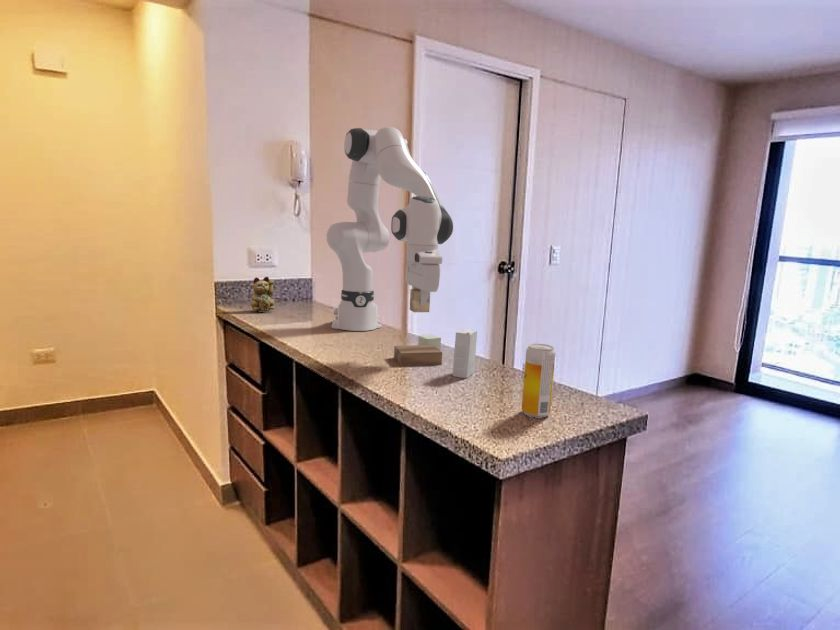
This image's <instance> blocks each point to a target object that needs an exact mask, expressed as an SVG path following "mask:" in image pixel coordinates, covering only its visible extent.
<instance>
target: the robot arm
mask: <svg viewBox="0 0 840 630" xmlns="http://www.w3.org/2000/svg"><path fill="white" fill-rule="evenodd" d="M343 147H344V153H345V155H346V157H347V159H350V160H352V162H351V164H350V165H351V166H350V171H349V176H348V187H347V196H346V197H347V198H346V203H347V205H348V207H349V208H350V209H351V210H353V211H354V213H355V218H356V221H341V222H336V223H333V224H331V225H330V226H329V228H328V230H327V233H326V243H327V244H328V246H329V248H330V249H331V250H332V251H333V252H334V253H335V254H336V255H337V258H338V259H339V261H340V264H341V270H342V289H341V293H340V299H341V301H340V303H339V305H337V307H336V308H334V309H333V315H334V316H335V318H333V319H332V323H331V329H337V330H343V331H351V332H352V331H353V332H354V331H355V332H364V331H365V332H366V331H372V330H376V329H379V328H382V324H381V323H378V320H379V319H378V318H379V317H378V305H377V303H375V302H374V300H375V299H374V298H375V291H374V269H373V268H372V267H371V265H369V264H367V263H366V261H365V259H364V254H363V253H376V252H380V251H383V250H385V249H387V247H388V246H389V243H390V237H391V236H390V232H389V230H388V228H387V227H386V226H385V224H384V223H383V222H382V221H383V220H382V218H381V216H380V215H381V214H380V211H379V200H380V199H379V195H380V185H381V179H382V180H383V181H384V182H385V183H387V184H388V185H390V186H393V187H395V188H398V189H401V190H405V191H407V192H409V193H412V194H414V195H415V196H413V197H411V198H410V199H409V203H408V204H407V205H406V207H404V208H401V209H398V210H397V211H395V213H393V215H392V217H391V223H390V225H391V227H390V229H391V234H392V235H393V237H395V239H396V240H397V241H399V242H400V241H401V242H405V243H406V255H405V256H406V257H405V261H406V265H405V267H406V268H405V275H404V280H405V284H406V285H409V286H411V289H420V290H421V298H420V300H419V301H420V302H419V304H420V305H422V306H426V305H427V299H428V296H429V292H430V293H436V292H438V289H439V286H440V280H441V279H440V278H441V266H440V265H442V263H443V256H442V254H441V253H440V251H439V245H442V244H444V243H445V242H447V240H449V238H450V237H452V234H453V232H454V222H453V219H452V216H451V215H450V214H449V212H448V211H447V210H446V209H445V207H444V205H443V203H442V202H441V199H440V197H439V195H438V193H437V191H436V189H435V187H434V185H433V183H432V181H431V180H430V177H429V176H428V175H427V173H426V172H425V171H424V170H423V169H421V168H420V166H418V164H416V163H417V162H415V160H414V159H413V158H412V156H411V153H410V150H409V149H410V148H409V142H408V140H407V138H406V137H405V136H404V135H403V134H402V133H401V131H400V130H399V129H397V128H396V127H394V126H384V127H382V128H379V129H378V130H376V129H369V128H361V127H354V128H351V129H350V130H348V132H347V133H346V135H345V137H344V143H343Z"/></svg>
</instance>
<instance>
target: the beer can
mask: <svg viewBox="0 0 840 630" xmlns="http://www.w3.org/2000/svg"><path fill="white" fill-rule="evenodd" d="M555 363H556V350H555V347H554V346H553V345H549V344H543V343H530V344H528V346H527V348H526V350H525V362H524V373H523V374H524V375H523V387H522V397H521V398H522V399H521V412H523V415H525V416H526V415H527V416H526V417H529V418H533V417H535V418H534V419H543V418H542V417H545V418H547V417H548V415H549V414H550V413H551V410H552V408H551V407H552V397H553V396H552V394H553V386H554V385H553V383H554V376H555V375H554V373H555V365H556V364H555ZM546 416H547V417H546Z"/></svg>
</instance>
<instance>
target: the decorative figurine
mask: <svg viewBox="0 0 840 630" xmlns="http://www.w3.org/2000/svg"><path fill="white" fill-rule="evenodd" d="M274 284H275V281H274V280H273V279H270V278H269V277H268V276H264V277H263V279H262V280H260V278H259V277H255V278H253V284H252V289H253V293H252V294H251V297H250V298H251V301H250V306H251V309H252V310H254V311H256V312H257V311H258V312H268V313H271V310H274V309H275V300H274V299H272V298H271V297H272V296H273V294H274V286H273V285H274ZM258 312H257V313H258Z"/></svg>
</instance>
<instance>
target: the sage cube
mask: <svg viewBox="0 0 840 630" xmlns="http://www.w3.org/2000/svg"><path fill="white" fill-rule="evenodd" d="M441 339H442V337H439V336H438V335H434V334H424V335H418V345H434V346H435V347H436V348H438V349H439V350H440V351H441V344H442V340H441Z"/></svg>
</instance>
